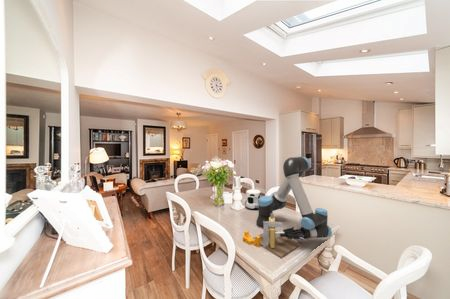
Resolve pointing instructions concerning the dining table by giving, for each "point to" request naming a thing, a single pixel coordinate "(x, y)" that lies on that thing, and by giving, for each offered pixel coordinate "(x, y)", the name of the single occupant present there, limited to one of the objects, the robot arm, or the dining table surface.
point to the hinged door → (272, 231)
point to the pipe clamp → (249, 240)
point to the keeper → (265, 230)
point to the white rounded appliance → (252, 198)
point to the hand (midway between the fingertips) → (275, 234)
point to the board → (281, 245)
